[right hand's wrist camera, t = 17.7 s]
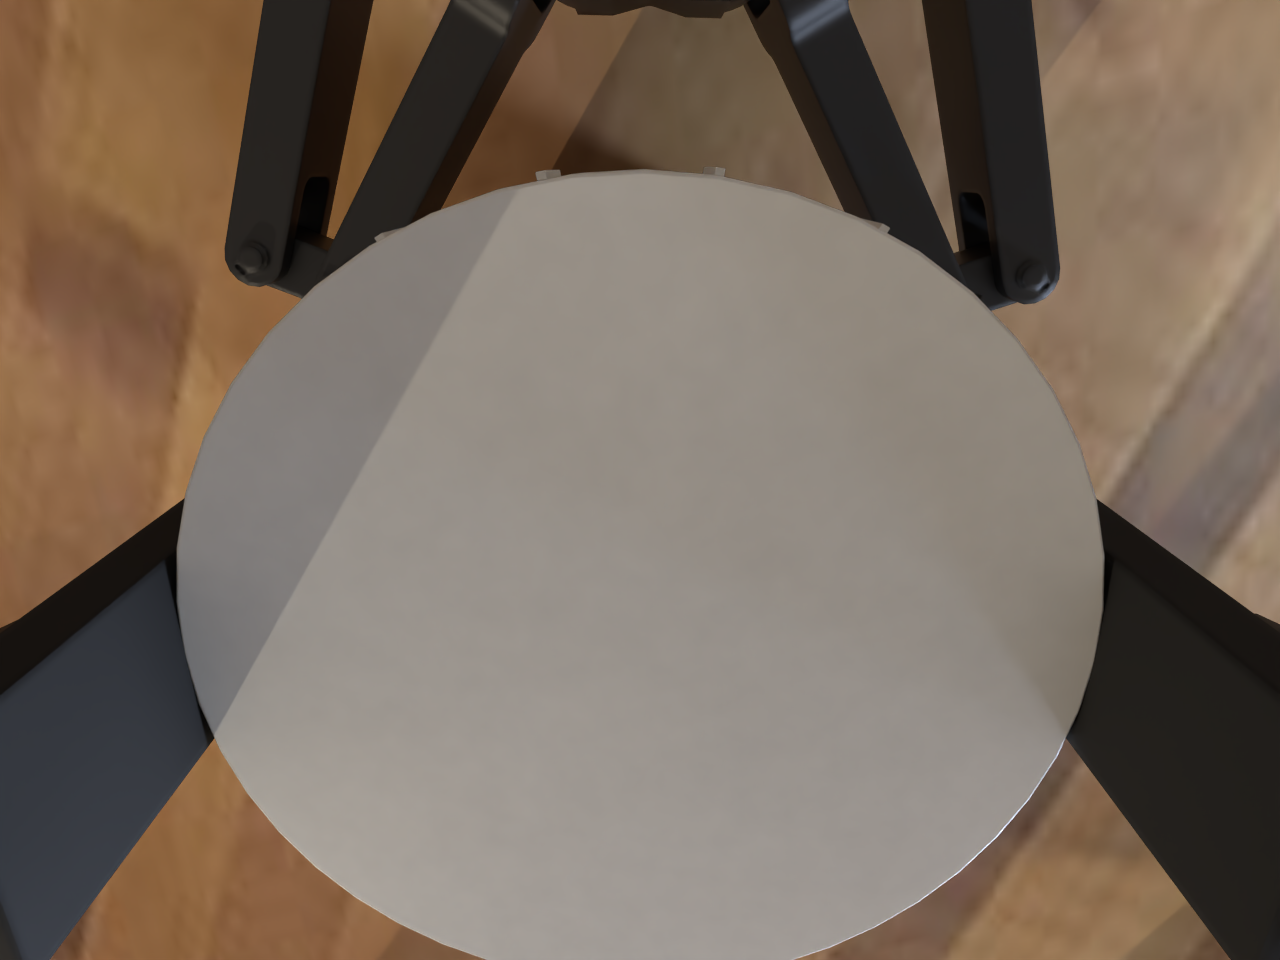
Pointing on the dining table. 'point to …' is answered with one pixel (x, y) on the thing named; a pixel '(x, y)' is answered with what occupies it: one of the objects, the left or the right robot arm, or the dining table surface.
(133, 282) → the dining table surface
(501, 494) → the lid
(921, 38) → the dining table surface
